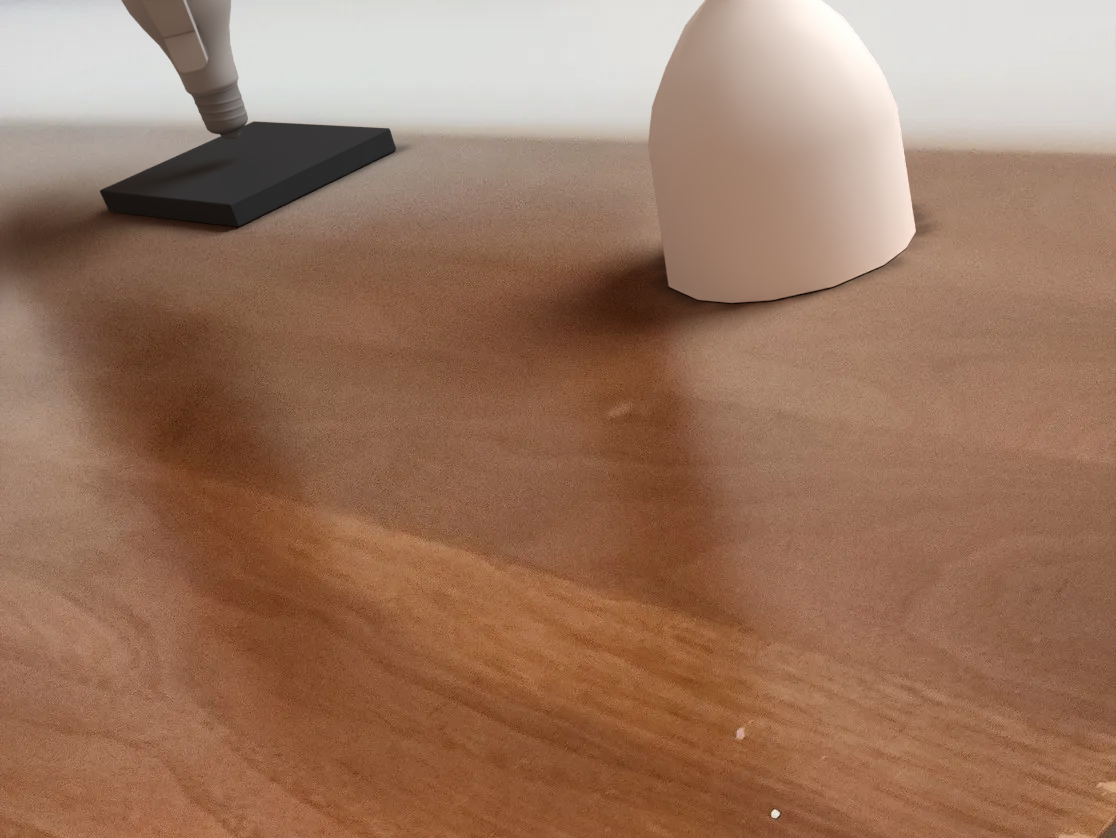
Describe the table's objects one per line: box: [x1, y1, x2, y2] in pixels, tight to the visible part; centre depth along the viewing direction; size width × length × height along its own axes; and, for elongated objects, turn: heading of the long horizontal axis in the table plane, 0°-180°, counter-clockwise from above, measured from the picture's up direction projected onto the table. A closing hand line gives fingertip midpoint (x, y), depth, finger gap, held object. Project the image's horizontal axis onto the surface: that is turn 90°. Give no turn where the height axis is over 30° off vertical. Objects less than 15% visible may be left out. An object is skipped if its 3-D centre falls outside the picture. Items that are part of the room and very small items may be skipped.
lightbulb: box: [120, 0, 249, 139], centre depth 81 cm, size 6×6×11 cm
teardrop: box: [647, 0, 917, 304], centre depth 58 cm, size 11×11×12 cm
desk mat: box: [99, 120, 397, 228], centre depth 86 cm, size 14×12×1 cm
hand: (201, 56), depth 82 cm, fingers closed on lightbulb, 5 cm apart
